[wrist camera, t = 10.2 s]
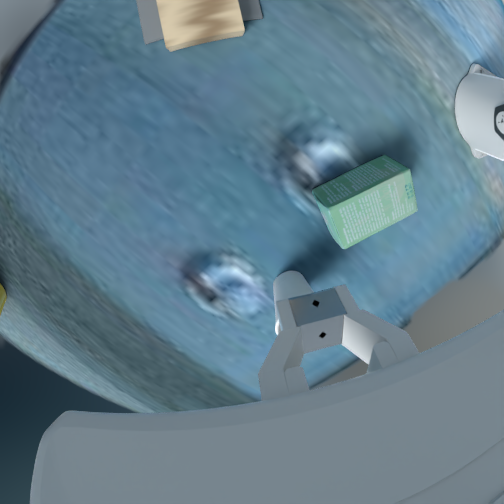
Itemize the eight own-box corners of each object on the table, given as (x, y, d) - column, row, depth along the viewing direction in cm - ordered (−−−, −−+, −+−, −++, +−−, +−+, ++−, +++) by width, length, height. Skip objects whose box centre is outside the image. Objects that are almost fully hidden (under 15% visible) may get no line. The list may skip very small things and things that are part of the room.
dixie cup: (255, 285, 48) (263, 328, 40) (292, 255, 46) (309, 295, 37) (285, 308, 52) (297, 349, 44) (320, 281, 50) (339, 321, 41)
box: (308, 189, 40) (326, 211, 34) (383, 152, 38) (411, 167, 32) (325, 227, 44) (343, 253, 38) (394, 191, 42) (419, 211, 35)
